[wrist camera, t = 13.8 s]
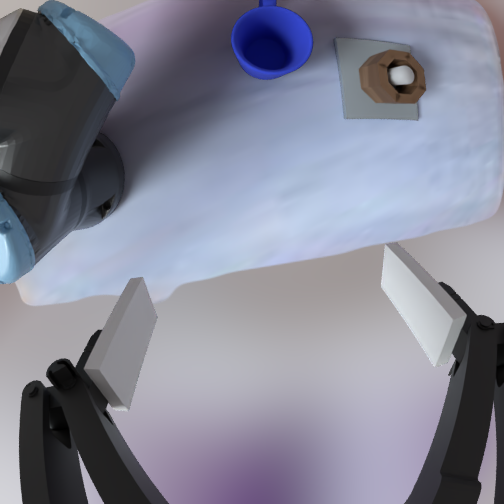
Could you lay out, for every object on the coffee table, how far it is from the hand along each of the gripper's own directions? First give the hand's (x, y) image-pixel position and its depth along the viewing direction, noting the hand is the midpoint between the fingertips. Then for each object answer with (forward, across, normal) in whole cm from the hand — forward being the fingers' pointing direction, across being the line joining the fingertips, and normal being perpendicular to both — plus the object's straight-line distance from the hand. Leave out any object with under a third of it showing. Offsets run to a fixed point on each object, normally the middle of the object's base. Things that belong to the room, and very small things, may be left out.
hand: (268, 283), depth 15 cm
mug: (+27, +4, +18) cm, 33 cm away
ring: (+26, +20, +13) cm, 35 cm away
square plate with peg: (+27, +20, +13) cm, 36 cm away
